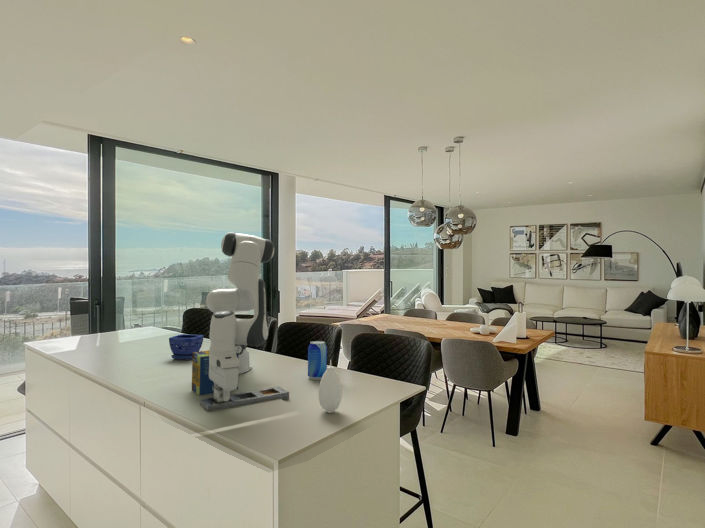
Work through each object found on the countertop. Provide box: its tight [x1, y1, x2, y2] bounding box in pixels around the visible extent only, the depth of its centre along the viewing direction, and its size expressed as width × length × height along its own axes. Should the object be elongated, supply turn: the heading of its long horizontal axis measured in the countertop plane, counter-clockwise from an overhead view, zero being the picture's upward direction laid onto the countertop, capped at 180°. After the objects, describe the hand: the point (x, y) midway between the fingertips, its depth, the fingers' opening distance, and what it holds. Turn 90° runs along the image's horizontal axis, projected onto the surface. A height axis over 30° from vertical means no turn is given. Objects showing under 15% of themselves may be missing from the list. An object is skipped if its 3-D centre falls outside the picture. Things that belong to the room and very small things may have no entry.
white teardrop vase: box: [318, 359, 343, 414], centre depth 140 cm, size 8×8×18 cm
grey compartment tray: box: [199, 385, 290, 412], centre depth 148 cm, size 9×30×2 cm, turn 126°
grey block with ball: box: [213, 387, 231, 404], centre depth 143 cm, size 4×4×6 cm
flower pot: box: [168, 333, 204, 361], centre depth 220 cm, size 13×13×12 cm
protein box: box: [191, 350, 239, 396], centre depth 162 cm, size 10×15×16 cm
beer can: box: [307, 340, 328, 381], centre depth 184 cm, size 8×8×16 cm
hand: (221, 397), depth 143 cm, fingers open, 6 cm apart
